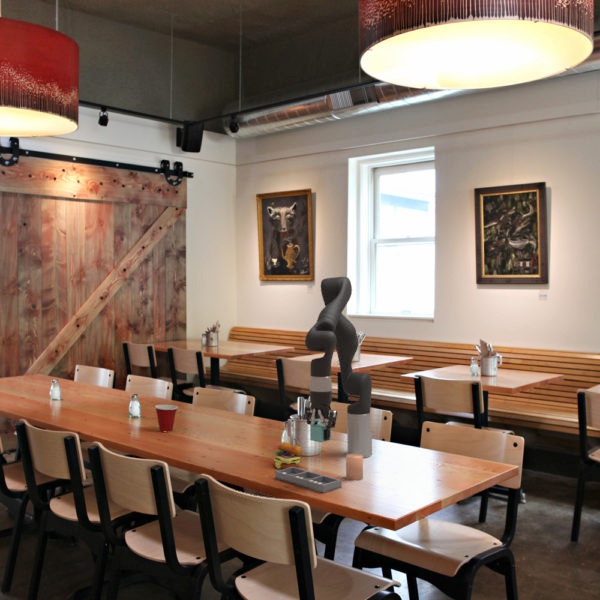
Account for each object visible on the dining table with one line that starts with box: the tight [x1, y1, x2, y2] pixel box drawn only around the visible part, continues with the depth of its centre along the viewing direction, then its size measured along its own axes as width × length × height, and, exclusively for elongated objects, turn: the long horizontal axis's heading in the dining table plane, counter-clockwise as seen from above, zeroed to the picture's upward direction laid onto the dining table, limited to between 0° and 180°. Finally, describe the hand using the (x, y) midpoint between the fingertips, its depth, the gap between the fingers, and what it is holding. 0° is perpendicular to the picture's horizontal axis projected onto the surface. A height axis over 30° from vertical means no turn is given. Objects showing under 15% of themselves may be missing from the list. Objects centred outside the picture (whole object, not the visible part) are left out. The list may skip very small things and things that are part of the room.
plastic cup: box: [154, 404, 179, 432], centre depth 325 cm, size 11×11×12 cm
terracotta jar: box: [345, 454, 364, 481], centre depth 245 cm, size 6×6×8 cm
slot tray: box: [274, 467, 343, 494], centre depth 239 cm, size 9×24×3 cm, turn 44°
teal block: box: [309, 423, 332, 443], centre depth 236 cm, size 5×5×5 cm
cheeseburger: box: [273, 441, 303, 470], centre depth 262 cm, size 10×11×10 cm
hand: (320, 438), depth 236 cm, fingers closed on teal block, 5 cm apart
